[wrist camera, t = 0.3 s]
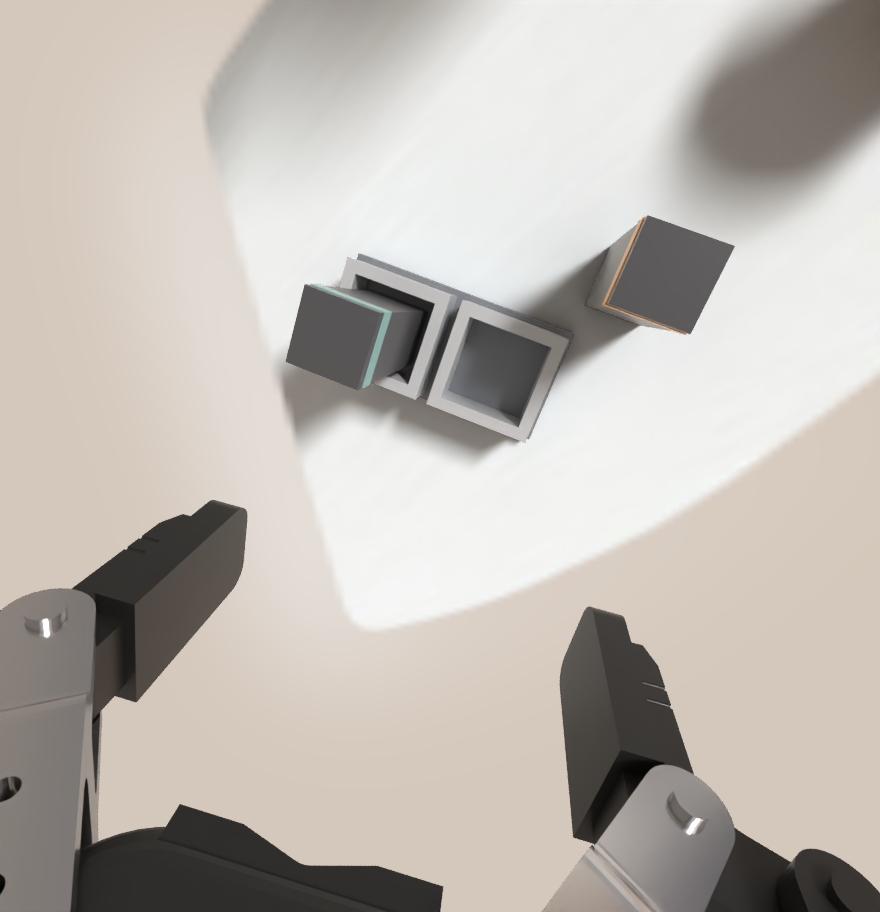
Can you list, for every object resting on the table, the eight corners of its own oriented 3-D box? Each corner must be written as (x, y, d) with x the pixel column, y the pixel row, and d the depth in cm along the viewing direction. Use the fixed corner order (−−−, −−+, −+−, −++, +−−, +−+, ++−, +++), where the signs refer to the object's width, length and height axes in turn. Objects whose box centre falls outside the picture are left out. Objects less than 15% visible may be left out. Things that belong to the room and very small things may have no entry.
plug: (609, 245, 34) (647, 213, 23) (668, 266, 34) (736, 245, 22) (583, 305, 35) (607, 304, 24) (640, 326, 35) (690, 335, 24)
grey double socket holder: (364, 254, 37) (343, 248, 33) (573, 332, 36) (577, 336, 32) (334, 359, 40) (312, 365, 36) (528, 435, 38) (528, 450, 35)
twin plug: (376, 290, 36) (303, 282, 25) (429, 310, 36) (381, 312, 25) (360, 345, 38) (284, 362, 26) (411, 365, 37) (357, 391, 26)
